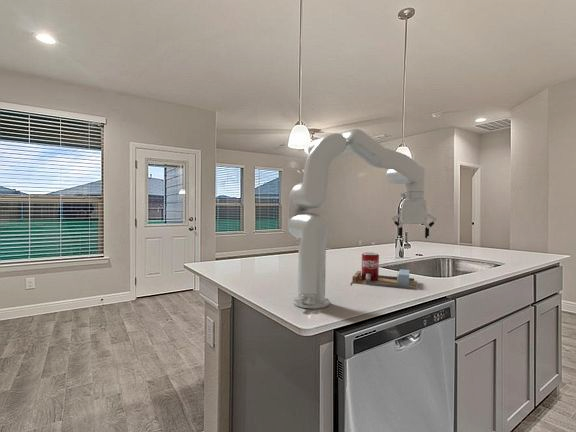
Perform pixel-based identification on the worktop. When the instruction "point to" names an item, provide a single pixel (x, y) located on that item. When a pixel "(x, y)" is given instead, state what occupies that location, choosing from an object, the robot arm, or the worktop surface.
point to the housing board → (383, 281)
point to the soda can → (370, 266)
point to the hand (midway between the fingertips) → (413, 237)
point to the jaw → (403, 277)
